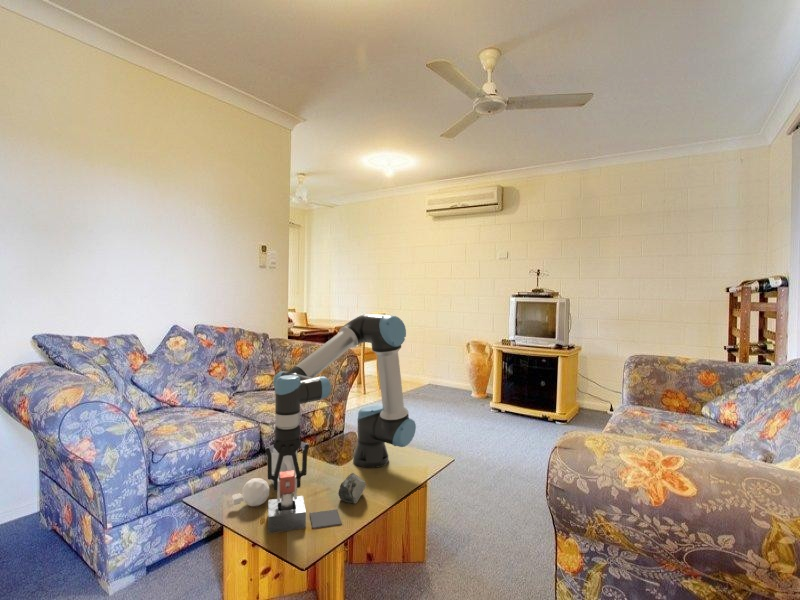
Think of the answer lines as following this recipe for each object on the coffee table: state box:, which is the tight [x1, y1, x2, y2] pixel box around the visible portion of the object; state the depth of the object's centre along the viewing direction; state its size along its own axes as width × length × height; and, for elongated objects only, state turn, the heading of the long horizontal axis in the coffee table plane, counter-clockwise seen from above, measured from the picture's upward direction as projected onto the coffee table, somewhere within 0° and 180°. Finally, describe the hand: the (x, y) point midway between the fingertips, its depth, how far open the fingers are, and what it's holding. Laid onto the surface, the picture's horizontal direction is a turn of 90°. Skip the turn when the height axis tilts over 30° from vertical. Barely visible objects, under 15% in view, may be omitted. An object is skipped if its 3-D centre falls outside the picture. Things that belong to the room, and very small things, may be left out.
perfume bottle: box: [231, 477, 270, 507], centre depth 146 cm, size 9×9×12 cm
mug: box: [266, 448, 298, 486], centre depth 161 cm, size 15×11×13 cm
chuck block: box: [267, 495, 307, 534], centre depth 136 cm, size 11×11×5 cm
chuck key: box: [280, 470, 296, 511], centre depth 136 cm, size 8×4×14 cm, turn 17°
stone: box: [337, 472, 367, 504], centre depth 151 cm, size 10×10×10 cm
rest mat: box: [309, 509, 342, 530], centre depth 138 cm, size 9×9×1 cm
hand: (287, 498), depth 136 cm, fingers closed on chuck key, 4 cm apart
